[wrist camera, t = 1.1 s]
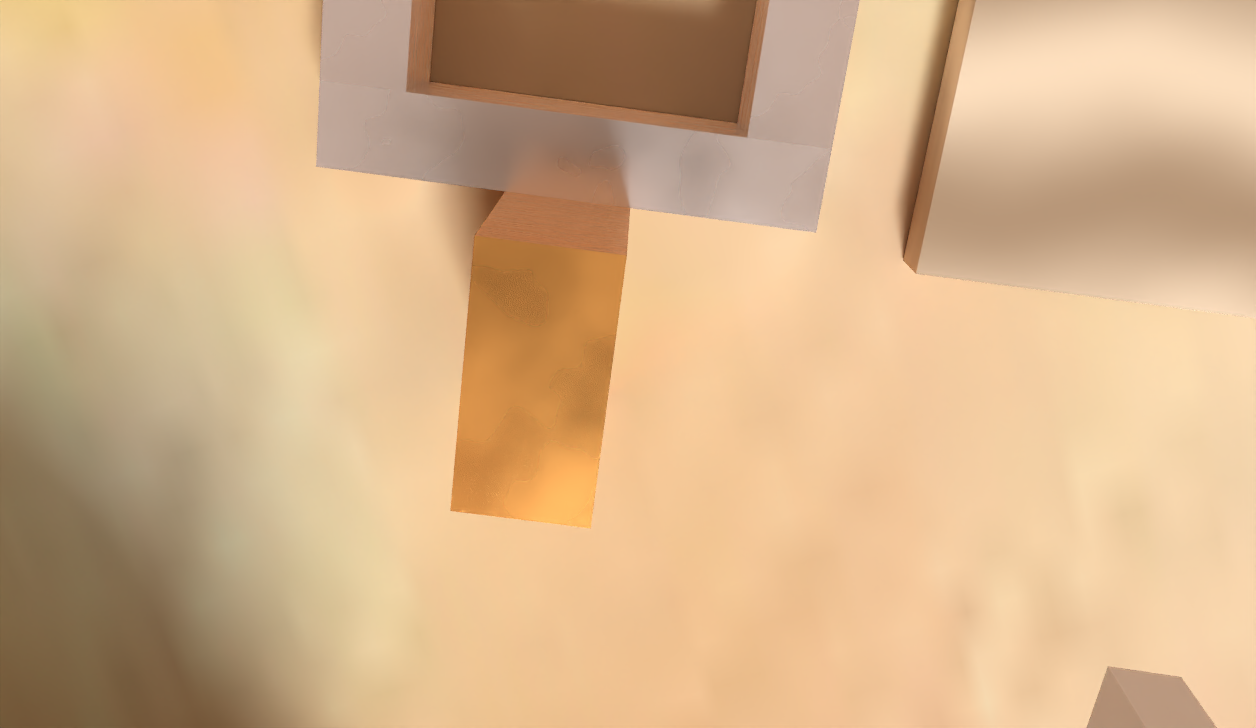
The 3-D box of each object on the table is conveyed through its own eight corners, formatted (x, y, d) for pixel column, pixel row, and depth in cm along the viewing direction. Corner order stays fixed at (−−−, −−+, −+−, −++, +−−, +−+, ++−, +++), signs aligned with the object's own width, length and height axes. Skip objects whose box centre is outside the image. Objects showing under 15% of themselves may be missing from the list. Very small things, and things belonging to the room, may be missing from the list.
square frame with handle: (374, -378, 25) (258, -533, 18) (891, -302, 26) (995, -424, 18) (337, 363, 31) (238, 484, 24) (761, 417, 31) (798, 554, 24)
